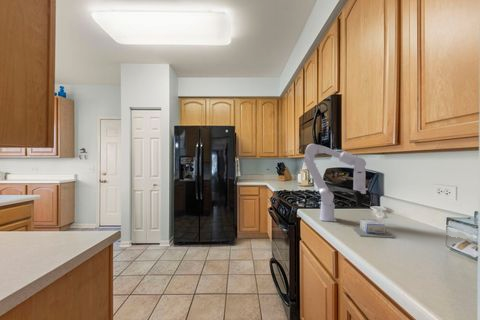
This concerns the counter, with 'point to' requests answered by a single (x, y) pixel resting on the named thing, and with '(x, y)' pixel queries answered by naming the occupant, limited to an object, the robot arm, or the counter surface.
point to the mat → (372, 234)
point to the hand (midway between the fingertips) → (359, 205)
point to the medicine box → (372, 226)
